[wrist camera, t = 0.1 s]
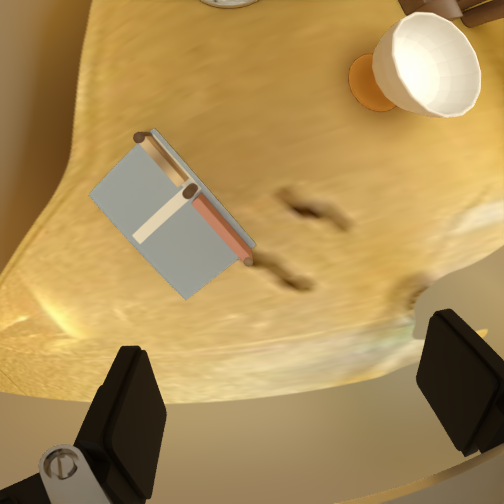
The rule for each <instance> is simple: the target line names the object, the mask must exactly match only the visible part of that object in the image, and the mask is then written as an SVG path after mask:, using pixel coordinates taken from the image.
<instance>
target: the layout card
mask: <svg viewBox="0 0 504 504" xmlns="http://www.w3.org/2000/svg"><path fill="white" fill-rule="evenodd" d="M149 133H151V134H152V135H153V137H154V138H155V139H156V140H157V141H158V143H159V144H160V145H161V146H162V147H163V148H164V149H165V151H166V152H167V153H168V154H169V155H170V156H171V157H172V159H173V160H174V161H175V162H176V163H177V164H178V165H179V167H180V168H181V169H182V170H183V171H184V172H185V173H186V175H187V176H188V177H189V179H187V180H186V181H185V182H184V183H183V184H182V185H181V186H179V187H177V186H176V185H175V184H174V183H173V182H172V181H171V180H170V178H169V177H168V176H167V175H166V174H165V173H164V172H163V170H162V169H161V168H160V167H159V166H158V165H157V164H156V162H155V161H154V160H153V159H152V158H151V157H150V156H149V154H148V153H147V152H146V151H145V150H144V149H143V148H142V146H141V145H140V144H139V143H138V144H137V145H136V146H135V147H134V148H133V149H132V150H131V151H130V152H129V153H128V154H127V155H126V156H125V157H124V158H123V159H122V160H121V161H120V162H119V163H118V164H117V165H116V166H115V167H114V168H113V169H112V170H111V171H110V172H109V173H108V174H107V175H106V176H105V177H104V179H103V180H102V181H101V182H100V183H99V184H98V185H97V186H96V187H95V188H94V189H93V191H92V192H91V193H90V194H89V196H90V198H91V199H92V200H93V201H94V202H95V203H96V205H97V206H98V207H99V208H100V209H101V210H102V212H103V213H104V214H105V215H106V216H107V217H108V218H109V219H110V221H111V222H112V223H113V224H114V225H115V226H116V227H117V228H118V230H119V231H120V232H121V233H122V234H123V235H124V236H125V237H126V238H127V240H128V241H129V242H130V243H131V244H132V245H133V246H134V247H135V248H136V249H137V250H138V251H139V253H140V254H141V255H142V256H143V257H144V258H145V259H146V260H147V261H148V262H149V263H150V264H151V265H152V266H153V267H154V268H155V269H156V270H157V272H158V273H159V274H160V275H161V276H162V277H163V278H164V279H165V280H166V281H167V282H168V283H169V284H170V285H171V286H172V287H173V288H174V289H175V290H176V291H177V292H178V293H179V294H180V295H181V296H182V297H183V298H184V299H185V300H187V299H188V298H189V297H191V296H192V295H193V294H195V293H196V292H197V291H198V290H200V289H201V288H202V287H203V286H205V285H206V284H207V283H208V282H210V281H211V280H212V279H214V278H215V277H216V276H217V275H219V274H220V273H221V272H222V271H224V270H225V269H226V268H228V267H229V266H230V265H231V264H233V263H234V262H235V261H236V260H238V259H239V257H238V256H237V255H236V254H235V253H234V251H233V250H232V249H231V248H230V247H229V246H228V245H227V244H226V242H225V241H224V240H223V239H222V238H221V237H220V236H219V235H218V234H217V232H216V231H215V230H214V229H213V228H212V227H211V226H210V225H209V223H208V222H207V221H206V220H205V219H204V218H203V217H202V216H201V214H200V213H199V212H198V211H197V210H196V209H195V208H194V207H193V205H192V204H191V203H192V201H193V200H194V198H195V197H196V196H198V195H199V194H200V193H201V192H202V194H203V195H204V196H205V197H206V198H207V199H208V200H209V202H210V203H211V204H212V205H213V206H214V207H215V208H216V210H217V211H218V212H219V213H220V214H221V215H222V216H223V218H224V219H225V220H226V221H227V222H228V223H229V224H230V226H231V227H232V228H233V229H234V230H235V231H236V232H237V234H238V235H239V236H240V237H241V238H242V239H243V240H244V242H245V243H246V244H247V245H248V246H249V247H250V248H251V249H252V248H253V247H254V246H256V243H255V242H254V241H253V240H252V239H251V238H250V236H249V235H248V234H247V233H246V232H245V231H244V230H243V228H242V227H241V226H240V225H239V224H238V223H237V221H236V220H235V219H234V218H233V217H232V216H231V215H230V213H229V212H228V211H227V210H226V209H225V208H224V206H223V205H222V204H221V203H220V202H219V201H218V200H217V198H216V197H215V196H214V195H213V194H212V193H211V191H210V190H209V189H208V188H207V187H206V186H205V185H204V183H203V182H202V181H201V180H200V179H199V178H198V177H197V175H196V174H195V173H194V172H193V171H192V170H191V169H190V167H189V166H188V165H187V164H186V163H185V162H184V161H183V159H182V158H181V157H180V156H179V155H178V154H177V153H176V151H175V150H174V149H173V148H172V147H171V146H170V145H169V143H168V142H167V141H166V140H165V139H164V138H163V137H162V135H161V134H160V133H159V132H158V131H157V130H156V129H155V128H154V129H153V130H152V131H150V132H149ZM191 183H194V184H196V185H197V187H198V190H197V192H196V193H195V194H194V196H193V197H192V198H191V199H185V198H184V197H183V195H182V192H183V190H184V189H185V188H186V187H187V186H188V185H189V184H191Z"/></svg>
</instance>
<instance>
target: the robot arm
mask: <svg viewBox="0 0 504 504" xmlns="http://www.w3.org/2000/svg"><path fill="white" fill-rule="evenodd" d="M200 1H202V2H204V3H206V4H208V5H211V6H215V7H219V8H238V7H243V6H247V5H250V4H252V3H255V2H256V1H258V0H200ZM215 1H218V2H215ZM416 381H417V385H418V387H419V388H420V390H421V391H422V393H423V395H424V396H425V398H426V399H427V401H428V403H429V404H430V406H431V407H432V409H433V410H434V412H435V414H436V415H437V417H438V419H439V420H440V422H441V424H442V425H443V427H444V429H445V430H446V432H447V434H448V436H449V437H450V439H451V441H452V442H453V444H454V446H455V447H456V449H457V450H458V451H461V452H462V453H463V455H464V457H467V456H469V455H471V454H473V453H475V452H477V451H478V449H479V450H480V452H481V454H480V455H478V456H476V457H474V458H472V459H470V460H468V461H465V462H463V463H461V464H459V465H456V466H454V467H452V468H450V469H447V470H445V471H442V472H440V473H437V474H434V475H432V476H429V477H426V478H424V479H421V480H418V481H415V482H412V483H409V484H406V485H403V486H400V487H397V488H394V489H390V490H387V491H383V492H380V493H377V494H373V495H369V496H365V497H361V498H357V499H353V500H348V501H344V502H339V503H334V504H504V361H503V359H502V358H501V357H500V356H499V355H498V354H497V353H496V352H495V351H494V350H493V349H492V348H491V347H490V346H489V345H488V344H487V343H486V342H485V341H484V340H483V339H482V338H481V337H480V336H479V335H478V334H477V333H476V332H475V331H474V330H473V329H472V328H471V327H470V326H469V325H468V324H467V323H466V322H465V321H464V320H462V319H461V318H460V317H459V316H458V315H457V314H456V313H455V312H454V311H453V310H452V309H444V310H440V311H436V312H435V313H434V314H433V316H432V317H431V318H430V320H429V325H428V330H427V334H426V339H425V343H424V348H423V352H422V356H421V360H420V364H419V368H418V372H417V375H416ZM166 416H167V414H166V408H165V405H164V402H163V399H162V397H161V394H160V391H159V388H158V385H157V382H156V379H155V376H154V373H153V370H152V367H151V364H150V361H149V358H148V355H147V352H146V351H145V350H141V348H140V347H139V346H121V348H120V349H119V351H118V353H117V356H116V358H115V360H114V362H113V364H112V366H111V368H110V370H109V372H108V374H107V377H106V379H105V381H104V383H103V385H101V386H100V387H99V389H98V390H97V392H96V395H95V397H94V399H93V401H92V404H91V406H90V408H89V410H88V412H87V415H86V417H85V419H84V421H83V424H82V426H81V428H80V431H79V433H78V435H77V438H76V440H75V443H74V445H73V446H71V445H67V444H63V445H57V446H54V447H52V448H50V449H48V450H47V451H46V452H45V453H44V454H43V455H42V457H41V459H40V462H39V473H37V474H35V475H33V476H31V477H28V478H27V479H24V480H22V481H20V482H18V483H15V484H13V485H11V486H9V487H6V488H4V489H2V490H0V504H145V502H146V499H150V498H151V495H152V491H153V485H154V479H155V473H156V469H157V463H158V458H159V452H160V447H161V442H162V437H163V432H164V427H165V422H166Z"/></svg>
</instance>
